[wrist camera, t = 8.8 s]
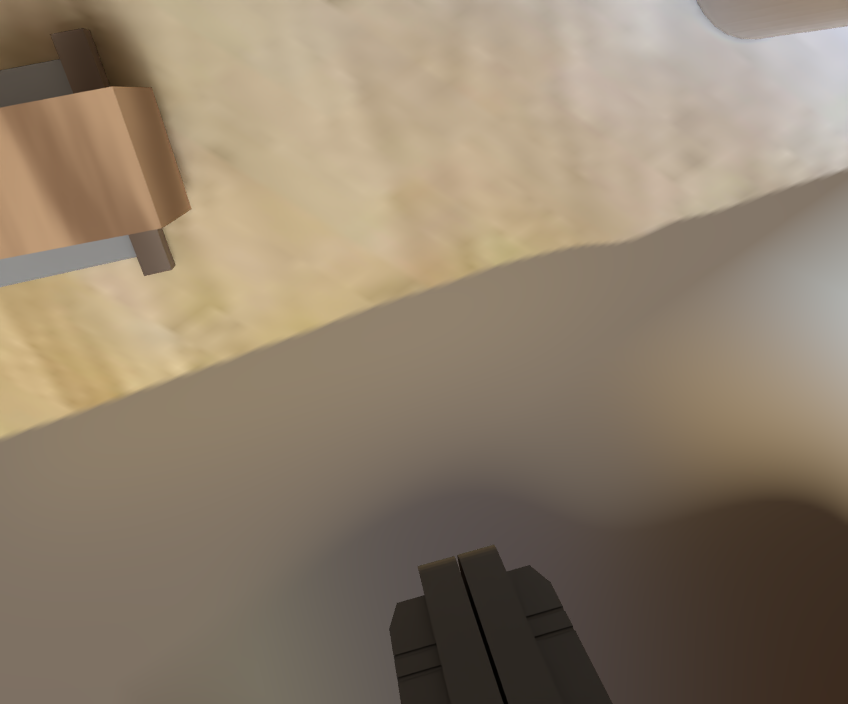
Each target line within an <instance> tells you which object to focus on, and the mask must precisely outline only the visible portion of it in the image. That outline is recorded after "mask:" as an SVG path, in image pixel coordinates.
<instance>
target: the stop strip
mask: <svg viewBox="0 0 848 704" xmlns="http://www.w3.org/2000/svg"><path fill="white" fill-rule="evenodd" d="M50 35H51V38H52V40H53V43H54V45H55V48H56V50H57V53H58V55H59V58H60V61H61V63H62V66H63V68H64V71H65V73H66V76H67V79H68V81H69V84H70V86H71V89H72V91H73V94H75V93H80V92H85V91H91V90H96V89H101V88H106V87H110V85H109V82H108V80H107V77H106V74H105V71H104V69H103V66H102V63H101V61H100V58H99V55H98V52H97V50H96V47H95V44H94V41H93V39H92V36H91V33H90V31H89V30H86V29H84V28H81V29H76V30H70V31H65V32H60V33H54V34H50ZM129 238H130V240H131V243H132V246H133V248H134V251H135V253H136V256H137V258H138V261H139V264H140V266H141V269H142V271H143V274H144V276H146V275H151V274H155V273H160V272H164V271H168V270H172V269H173V268H174V266H175V263H174V261H173V258H172V255H171V252H170V250H169V247H168V244H167V241H166V239H165V236H164V233H163V230H162V228H161V229H156V230H150V231H145V232H140V233H135V234H130V235H129Z"/></svg>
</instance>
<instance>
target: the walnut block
mask: <svg viewBox="0 0 848 704" xmlns="http://www.w3.org/2000/svg"><path fill="white" fill-rule="evenodd" d="M189 210H191V206H190V203H189V200H188V197H187V194H186V191H185V188H184V185H183V182H182V179H181V176H180V173H179V170H178V166H177V163H176V160H175V157H174V154H173V151H172V148H171V145H170V142H169V139H168V136H167V133H166V130H165V127H164V124H163V121H162V118H161V115H160V112H159V108H158V105H157V102H156V99H155V96H154V93H153V90H152V87H116V86H112V87H106V88H101V89H96V90H91V91H85V92H80V93H75V94H70V95H64V96H59V97H54V98H49V99H43V100H38V101H33V102H28V103H22V104H17V105H12V106H7V107H1V108H0V259H5V258H10V257H15V256H20V255H26V254H31V253H36V252H41V251H46V250H52V249H57V248H62V247H67V246H72V245H78V244H83V243H88V242H93V241H98V240H104V239H109V238H114V237H119V236H124V235H130V234H135V233H140V232H145V231H150V230H156V229H161V228H163V227H165V226H166V225H168V224H169V223H171V222H172V221H174V220H175V219H177V218H178V217H180V216H182V215H183V214H185V213H186V212H188V211H189Z"/></svg>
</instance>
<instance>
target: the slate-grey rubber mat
mask: <svg viewBox="0 0 848 704" xmlns="http://www.w3.org/2000/svg"><path fill="white" fill-rule="evenodd" d="M70 94H73V91H72V89H71V86H70V84H69V81H68V79H67V76H66V73H65V71H64V68H63V66H62V63H61V61H60V59H58V60H53V61H47V62H42V63H37V64H32V65H26V66H21V67H16V68H11V69H6V70H0V108H1V107H7V106H12V105H17V104H22V103H28V102H33V101H38V100H43V99H49V98H54V97H59V96H64V95H70ZM134 257H137V256H136V253H135V251H134V248H133V246H132V243H131V240H130V238H129V235H124V236H119V237H114V238H109V239H104V240H98V241H93V242H88V243H83V244H78V245H72V246H67V247H62V248H57V249H52V250H46V251H41V252H36V253H31V254H26V255H20V256H15V257H10V258H5V259H0V287H3V286H7V285H12V284H16V283H21V282H25V281H30V280H34V279H39V278H43V277H48V276H52V275H57V274H61V273H66V272H70V271H75V270H79V269H84V268H88V267H93V266H97V265H102V264H106V263H111V262H115V261H120V260H124V259H129V258H134Z"/></svg>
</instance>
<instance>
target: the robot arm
mask: <svg viewBox="0 0 848 704" xmlns="http://www.w3.org/2000/svg"><path fill="white" fill-rule="evenodd" d="M697 2H698V4H699V6H700V8H701V9H702V11H703V13H704V15H705V16H706V17H707V18H708V19H709V20H710V22H711V23H712V24H713V25H714V26H715V27H717V28H718V29H720V30H721V31H723V32H724V33H726V34H728V35H731V36H734V37H737V38H740V39H762V38H768V37H775V36H782V35H789V34H795V33H802V32H811V31H818V30H825V29H831V28H838V27H845V26H848V0H697ZM457 557H458V563H459V567H458V564H457V562H456V559H455V557H454V556H452V557H449V558H446V559H442V560H438V561H435V562H431V563H427V564H424V565H420V566H418V570H419V574H420V578H421V582H422V586H423V590H424V594H425V595H424V596H420V597H417V598H413V599H410V600H406V601H403V602H399V603H397V605H396V608H395V612H394V615H393V619H392V622H391V625H390V629H389V630H390V636H391V642H392V649H393V655H394V659H395V667H396V673H397V679H398V686H399V693H400V699H401V704H612V702H611V700H610V698H609V696H608V694H607V692H606V690H605V688H604V686H603V684H602V682H601V680H600V678H599V676H598V674H597V672H596V670H595V668H594V667H593V665H592V663H591V661H590V659H589V657H588V655H587V653H586V651H585V649H584V647H583V645H582V643H581V641H580V639H579V637H578V635H577V633H576V631H574V629H573V626H572V623H571V622H570V620H569V618H568V616H567V614H566V612H565V611H564V610H563V606H562V604H561V602H560V600H559V599H558V596H557V594H556V592H555V590H554V588H553V586H552V585H551V582H549V581H548V580H547V579H545V578H544V577H543V576H542V575H541V574H540V573H538V572H537V571H536V570H535V569H533V568H532V567H531V566H530V565H529V566H525V567H522V568H518V569H514V570H511V571H507V572H506V570H505V567H504V565H503V563H502V560H501V558H500V556H499V554H498V551H497V549H496V547H495V546H494V545H491V546H487V547H484V548H480V549H477V550H473V551H470V552H466V553H462V554H459V555H457ZM459 568H460V570H459Z"/></svg>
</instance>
